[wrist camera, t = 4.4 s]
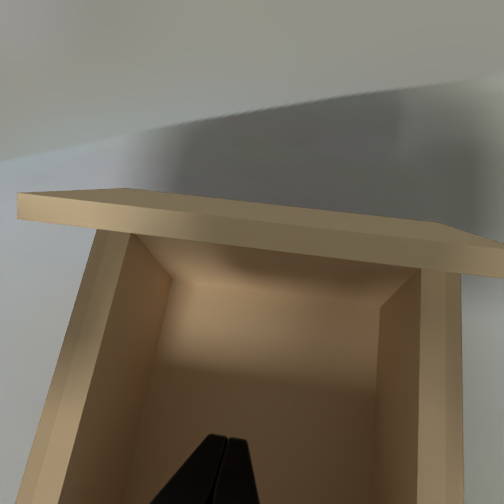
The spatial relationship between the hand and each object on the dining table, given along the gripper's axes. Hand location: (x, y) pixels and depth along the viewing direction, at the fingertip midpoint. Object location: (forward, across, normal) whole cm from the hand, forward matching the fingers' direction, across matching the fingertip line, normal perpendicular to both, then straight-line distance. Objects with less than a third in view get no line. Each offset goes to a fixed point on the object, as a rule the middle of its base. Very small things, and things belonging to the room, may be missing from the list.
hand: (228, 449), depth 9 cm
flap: (+5, 0, -3) cm, 6 cm away
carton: (+9, 0, +7) cm, 11 cm away
